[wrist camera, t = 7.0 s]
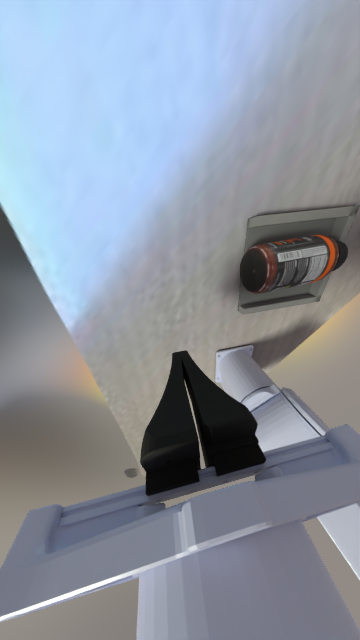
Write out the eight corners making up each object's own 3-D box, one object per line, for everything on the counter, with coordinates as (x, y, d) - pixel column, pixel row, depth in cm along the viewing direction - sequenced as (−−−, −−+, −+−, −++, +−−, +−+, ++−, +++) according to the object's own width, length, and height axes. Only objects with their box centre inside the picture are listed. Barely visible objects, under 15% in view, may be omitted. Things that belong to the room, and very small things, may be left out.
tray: (308, 297, 25) (319, 301, 23) (237, 310, 24) (243, 314, 22) (342, 208, 19) (359, 205, 17) (248, 219, 17) (257, 216, 16)
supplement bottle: (238, 248, 19) (310, 235, 20) (237, 290, 21) (301, 277, 22) (271, 241, 13) (369, 225, 14) (265, 299, 16) (349, 282, 17)
